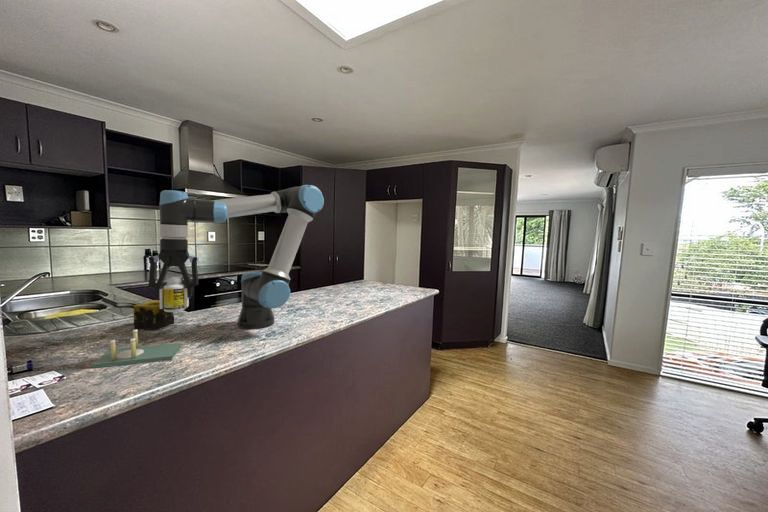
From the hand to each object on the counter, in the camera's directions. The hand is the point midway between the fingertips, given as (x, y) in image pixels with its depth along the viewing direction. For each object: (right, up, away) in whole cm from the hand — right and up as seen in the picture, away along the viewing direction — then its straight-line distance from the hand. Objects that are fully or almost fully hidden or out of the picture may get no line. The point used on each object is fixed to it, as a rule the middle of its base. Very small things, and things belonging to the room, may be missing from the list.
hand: (174, 307), depth 102 cm
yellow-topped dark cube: (-27, -13, +27) cm, 40 cm away
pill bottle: (0, -1, 0) cm, 1 cm away
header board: (-9, -16, -2) cm, 18 cm away
